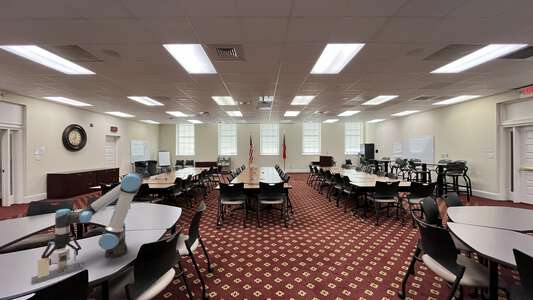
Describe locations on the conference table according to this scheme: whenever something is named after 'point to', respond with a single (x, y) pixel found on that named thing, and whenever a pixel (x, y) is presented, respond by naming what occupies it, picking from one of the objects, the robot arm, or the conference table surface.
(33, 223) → the conference table surface
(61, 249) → the container
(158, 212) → the conference table surface
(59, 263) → the tan box
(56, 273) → the rail
